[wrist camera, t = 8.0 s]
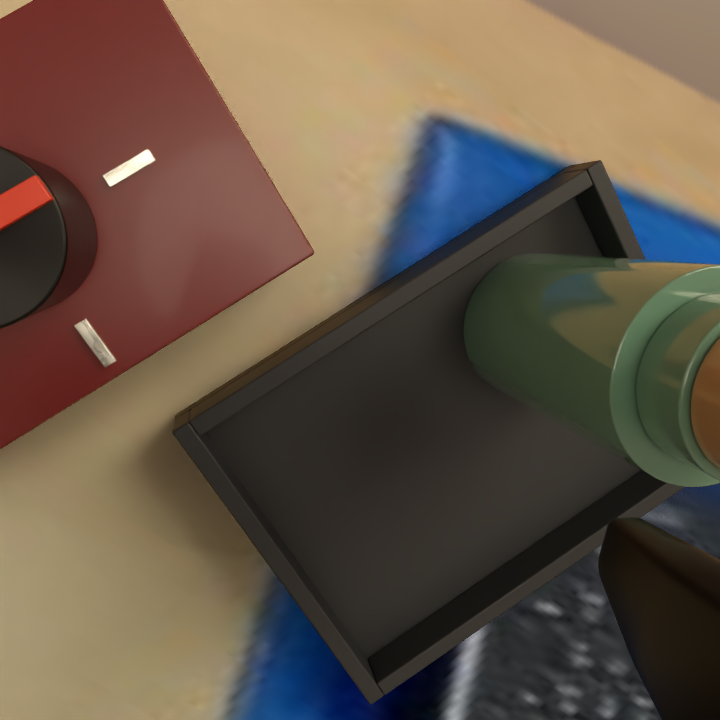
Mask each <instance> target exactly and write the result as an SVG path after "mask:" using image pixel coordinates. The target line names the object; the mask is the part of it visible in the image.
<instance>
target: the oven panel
mask: <svg viewBox="0 0 720 720" xmlns="http://www.w3.org/2000/svg"><path fill="white" fill-rule="evenodd" d="M0 146H2V147H4V148H7V149H9V150H12V151H14V152H17V153H19V154H22V155H24V156H27V157H29V158H32V159H34V160H37V161H39V162H42V163H44V164H46V165H48V166H50V167H52V168H54V169H55V170H57V171H58V172H60V173H61V174H63V175H64V176H65V177H66V178H68V179H69V180H70V181H71V182H72V183H73V184H74V185H75V186H76V187H77V189H78V190H79V191H80V192H81V194H82V195H83V196H84V198H85V200H86V201H87V203H88V205H89V207H90V209H91V212H92V214H93V217H94V220H95V224H96V230H97V251H96V256H95V260H94V264H93V266H92V268H91V271H90V273H89V274H88V276H87V278H86V279H85V281H84V282H83V283H82V285H81V286H80V287H79V288H78V289H77V290H76V291H75V292H74V293H73V294H72V295H70V296H69V297H67V298H66V299H65V300H63V301H61V302H59V303H57V304H55V305H53V306H51V307H49V308H47V309H45V310H43V311H41V312H39V313H36V314H34V315H32V316H30V317H28V318H26V319H24V320H22V321H20V322H17V323H15V324H13V325H10V326H7V327H5V328H2V329H0V449H2V448H3V447H5V446H7V445H8V444H10V443H11V442H13V441H15V440H16V439H18V438H19V437H21V436H23V435H24V434H26V433H27V432H29V431H31V430H32V429H34V428H35V427H37V426H39V425H40V424H42V423H43V422H45V421H47V420H48V419H50V418H51V417H53V416H55V415H56V414H58V413H60V412H61V411H63V410H64V409H66V408H68V407H69V406H71V405H72V404H74V403H76V402H77V401H79V400H80V399H82V398H84V397H85V396H87V395H88V394H90V393H92V392H93V391H95V390H96V389H98V388H100V387H101V386H103V385H104V384H106V383H108V382H109V381H111V380H112V379H114V378H116V377H117V376H119V375H121V374H122V373H124V372H125V371H127V370H129V369H130V368H132V367H133V366H135V365H137V364H138V363H140V362H141V361H143V360H145V359H146V358H148V357H149V356H151V355H153V354H154V353H156V352H157V351H159V350H161V349H162V348H164V347H165V346H167V345H169V344H170V343H172V342H173V341H175V340H177V339H178V338H180V337H182V336H183V335H185V334H186V333H188V332H190V331H191V330H193V329H194V328H196V327H198V326H199V325H201V324H202V323H204V322H206V321H207V320H209V319H210V318H212V317H214V316H215V315H217V314H218V313H220V312H222V311H223V310H225V309H226V308H228V307H230V306H231V305H233V304H234V303H236V302H238V301H239V300H241V299H243V298H244V297H246V296H247V295H249V294H251V293H252V292H254V291H255V290H257V289H259V288H260V287H262V286H263V285H265V284H267V283H268V282H270V281H271V280H273V279H275V278H276V277H278V276H279V275H281V274H283V273H284V272H286V271H287V270H289V269H291V268H292V267H294V266H295V265H297V264H299V263H300V262H302V261H304V260H305V259H307V258H308V257H310V256H312V255H313V254H314V250H313V249H312V247H311V245H310V244H309V242H308V240H307V239H306V237H305V235H304V234H303V232H302V230H301V229H300V227H299V225H298V224H297V222H296V220H295V219H294V217H293V215H292V214H291V212H290V211H289V209H288V207H287V206H286V204H285V202H284V201H283V199H282V197H281V196H280V194H279V192H278V191H277V189H276V187H275V186H274V184H273V182H272V181H271V179H270V177H269V176H268V174H267V172H266V171H265V169H264V167H263V166H262V164H261V162H260V161H259V159H258V157H257V156H256V154H255V152H254V151H253V149H252V147H251V146H250V144H249V142H248V141H247V139H246V137H245V136H244V134H243V132H242V131H241V129H240V127H239V126H238V124H237V122H236V121H235V119H234V117H233V116H232V114H231V112H230V111H229V109H228V107H227V106H226V104H225V102H224V101H223V99H222V97H221V96H220V94H219V92H218V91H217V89H216V87H215V86H214V84H213V82H212V81H211V79H210V77H209V76H208V74H207V72H206V71H205V69H204V67H203V66H202V64H201V62H200V61H199V59H198V57H197V56H196V54H195V52H194V51H193V49H192V47H191V46H190V44H189V42H188V41H187V39H186V37H185V36H184V34H183V32H182V31H181V29H180V27H179V26H178V24H177V22H176V21H175V19H174V17H173V16H172V14H171V12H170V11H169V9H168V7H167V6H166V4H165V2H164V1H163V0H33V1H31V2H30V3H28V4H26V5H24V6H22V7H21V8H19V9H17V10H15V11H14V12H12V13H10V14H8V15H7V16H5V17H3V18H1V19H0Z"/></svg>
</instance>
